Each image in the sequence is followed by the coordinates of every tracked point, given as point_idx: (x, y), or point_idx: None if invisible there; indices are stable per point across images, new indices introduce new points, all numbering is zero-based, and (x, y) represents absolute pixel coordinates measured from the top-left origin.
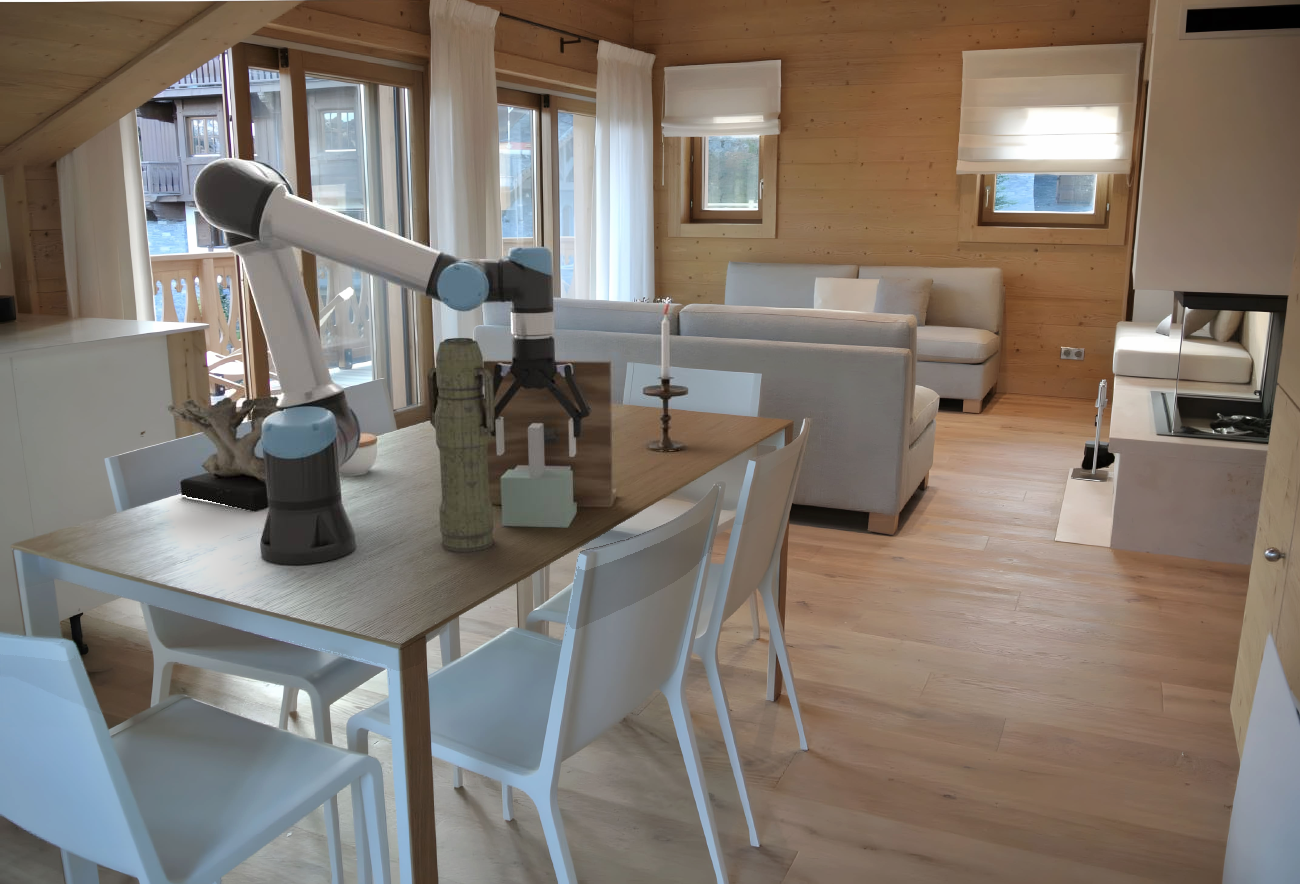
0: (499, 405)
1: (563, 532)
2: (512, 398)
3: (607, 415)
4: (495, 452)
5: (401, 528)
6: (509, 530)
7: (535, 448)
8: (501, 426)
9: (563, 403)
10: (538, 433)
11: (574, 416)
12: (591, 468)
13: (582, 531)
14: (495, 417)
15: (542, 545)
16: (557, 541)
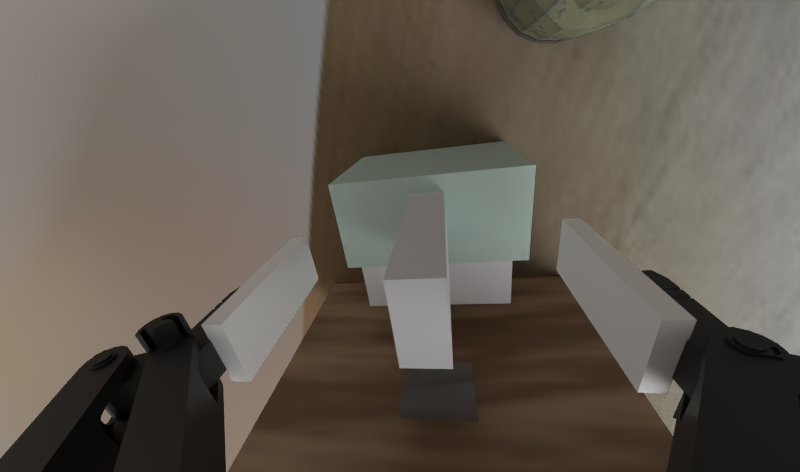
0: (761, 435)
1: (360, 122)
2: None
3: (237, 468)
4: (595, 363)
5: (781, 62)
6: (479, 111)
7: (414, 229)
8: (620, 318)
9: (161, 429)
10: (390, 263)
11: (174, 346)
12: (345, 333)
13: (326, 138)
14: (710, 336)
15: (370, 9)
16: (349, 52)
